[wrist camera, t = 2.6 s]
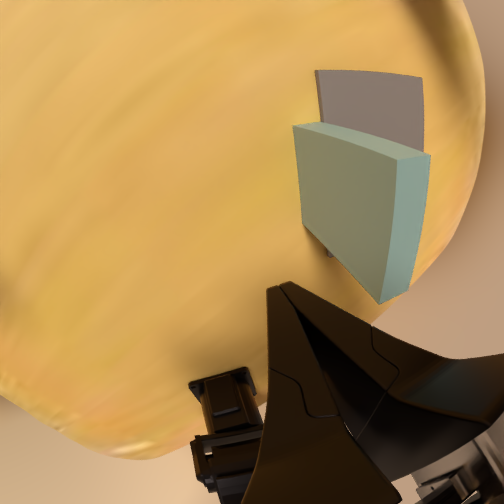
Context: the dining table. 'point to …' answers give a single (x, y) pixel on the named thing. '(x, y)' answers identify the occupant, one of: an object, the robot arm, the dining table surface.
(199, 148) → the dining table surface
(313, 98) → the dining table surface
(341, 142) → the tile
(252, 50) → the dining table surface
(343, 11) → the dining table surface
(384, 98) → the mat
